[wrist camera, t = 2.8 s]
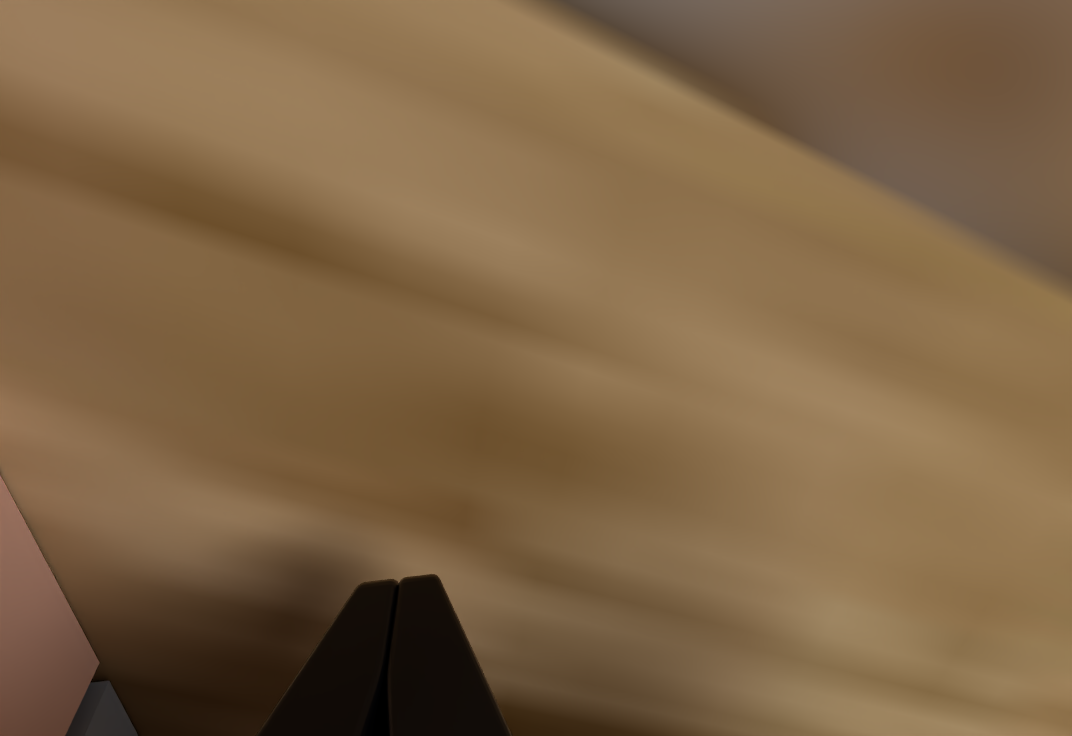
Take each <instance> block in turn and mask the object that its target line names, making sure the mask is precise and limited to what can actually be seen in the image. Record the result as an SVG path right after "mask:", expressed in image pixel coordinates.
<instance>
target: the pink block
mask: <svg viewBox="0 0 1072 736" xmlns="http://www.w3.org/2000/svg"><path fill="white" fill-rule="evenodd" d="M99 663H100V662H99V661H98V659H97V657H96V655H95V653H94V651H93V649H92V647H91V645H90V644H89V642H88V640H87V638H86V636H85V634H84V632H83V630H82V628H81V627H80V625H79V623H78V621H77V619H76V617H75V615H74V613H73V611H72V610H71V608H70V606H69V604H68V602H67V600H66V598H65V596H64V594H63V593H62V591H61V589H60V587H59V585H58V583H57V581H56V579H55V577H54V576H53V574H52V572H51V570H50V568H49V566H48V564H47V562H46V560H45V559H44V557H43V555H42V553H41V551H40V549H39V547H38V545H37V543H36V542H35V540H34V538H33V536H32V534H31V532H30V530H29V528H28V526H27V525H26V523H25V521H24V519H23V517H22V515H21V513H20V511H19V509H18V507H17V506H16V504H15V502H14V500H13V498H12V496H11V494H10V492H9V490H8V489H7V487H6V485H5V483H4V481H3V479H2V477H1V475H0V736H65V735H66V733H67V731H68V729H69V726H70V724H71V722H72V720H73V718H74V716H75V714H76V712H77V710H78V707H79V705H80V703H81V701H82V699H83V697H84V695H85V693H86V691H87V688H88V686H89V684H90V682H91V680H92V678H93V676H94V674H95V672H96V669H97V667H98V665H99Z"/></svg>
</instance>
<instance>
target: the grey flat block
mask: <svg viewBox="0 0 1072 736" xmlns="http://www.w3.org/2000/svg"><path fill="white" fill-rule="evenodd" d="M65 736H138V734H137V732H136V730H135V729H134V727H133V725H132V723H131V721H130V719H129V717H128V715H127V713H126V712H125V710H124V708H123V706H122V704H121V702H120V700H119V698H118V696H117V695H116V693H115V691H114V689H113V687H112V685H111V683H110V681H102V682H93V683H90V684H89V686H88V688H87V691H86V693H85V695H84V697H83V699H82V701H81V703H80V705H79V707H78V710H77V712H76V714H75V716H74V718H73V720H72V722H71V724H70V726H69V729H68V731H67V733H66V735H65Z"/></svg>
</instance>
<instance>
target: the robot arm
mask: <svg viewBox="0 0 1072 736" xmlns="http://www.w3.org/2000/svg"><path fill="white" fill-rule="evenodd" d="M256 736H512V734H511V732H510V730H509V728H508V725H507V723H506V721H505V719H504V717H503V715H502V712H501V710H500V708H499V706H498V704H497V702H496V699H495V697H494V695H493V693H492V691H491V689H490V686H489V684H488V682H487V680H486V678H485V676H484V673H483V671H482V669H481V667H480V665H479V663H478V660H477V658H476V656H475V654H474V652H473V650H472V647H471V645H470V643H469V641H468V639H467V637H466V634H465V632H464V630H463V628H462V626H461V624H460V621H459V619H458V617H457V615H456V613H455V611H454V608H453V606H452V604H451V602H450V600H449V597H448V595H447V593H446V591H445V589H444V587H443V584H442V582H441V580H440V578H439V577H438V576H437V575H435V574H430V575H421V576H413V577H405V578H403V579H402V580H401V581H400V583H398V581H396V580H394V579H387V580H379V581H371V582H364V583H361V584H360V585H358V586H357V587H356V589H355V590H354V591H353V593H352V594H351V596H350V597H349V599H348V600H347V602H346V603H345V605H344V606H343V608H342V609H341V611H340V612H339V614H338V615H337V617H336V618H335V620H334V621H333V622H332V624H331V625H330V627H329V628H328V630H327V631H326V633H325V634H324V636H323V637H322V639H321V640H320V642H319V643H318V645H317V646H316V648H315V649H314V651H313V652H312V653H311V655H310V656H309V658H308V659H307V661H306V662H305V664H304V665H303V667H302V668H301V670H300V671H299V673H298V674H297V676H296V677H295V679H294V680H293V682H292V683H291V684H290V686H289V687H288V689H287V690H286V692H285V693H284V695H283V696H282V698H281V699H280V701H279V702H278V704H277V705H276V707H275V708H274V710H273V711H272V713H271V714H270V715H269V717H268V718H267V720H266V721H265V723H264V724H263V726H262V727H261V729H260V730H259V732H258V733H257V735H256Z"/></svg>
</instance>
